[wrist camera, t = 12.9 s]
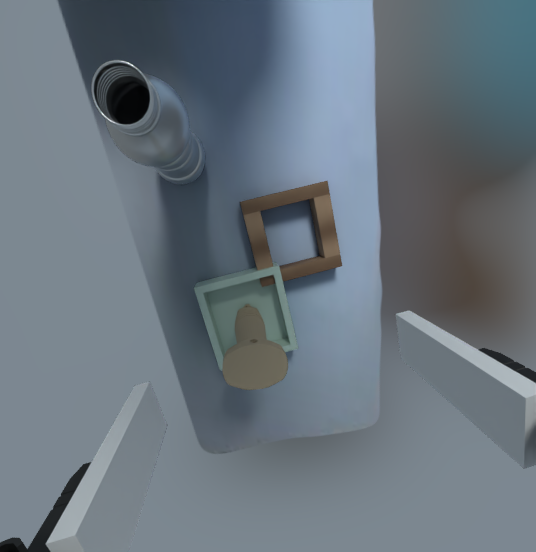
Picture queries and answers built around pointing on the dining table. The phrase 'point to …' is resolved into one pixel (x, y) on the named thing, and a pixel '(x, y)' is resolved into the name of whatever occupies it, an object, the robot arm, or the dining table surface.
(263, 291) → the tray
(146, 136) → the plastic bottle
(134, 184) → the dining table surface
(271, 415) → the dining table surface
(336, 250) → the brown wooden frame
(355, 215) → the dining table surface
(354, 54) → the dining table surface
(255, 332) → the handle
